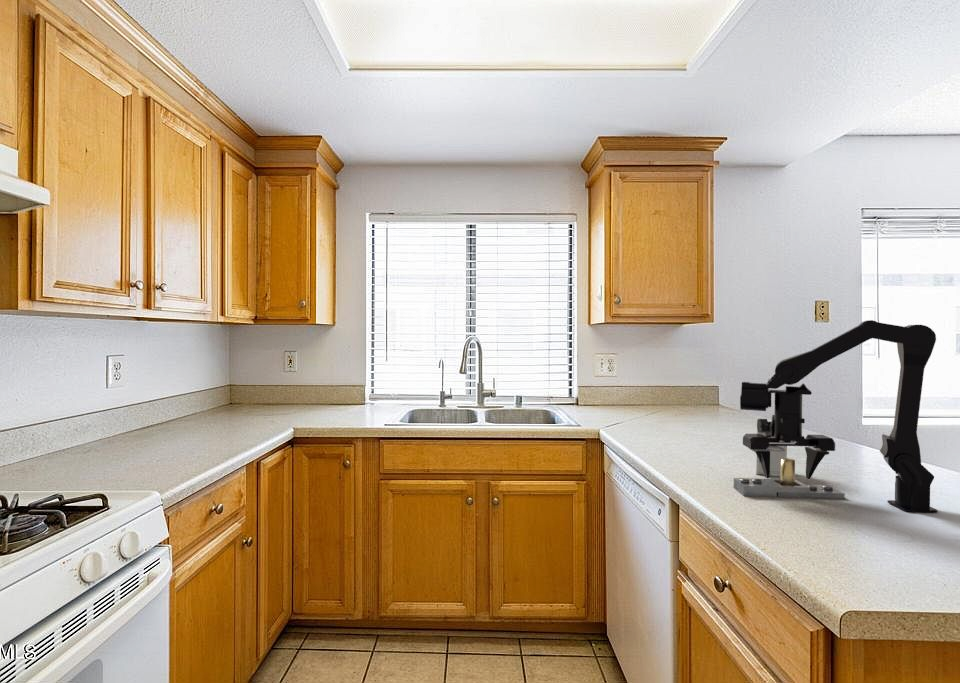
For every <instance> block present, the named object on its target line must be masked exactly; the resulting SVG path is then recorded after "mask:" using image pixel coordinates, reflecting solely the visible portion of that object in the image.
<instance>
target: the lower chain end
mask: <svg viewBox="0 0 960 683" xmlns="http://www.w3.org/2000/svg"><path fill="white" fill-rule="evenodd" d="M805 485H806V486H808V487H810V493H799V492H777V497H776V498H794V499H795V498H796V499H797V498H798V499H799V498H800V499H801V498H803V499H831V500H833V499H837V500H845V497H846V496H845V493H844V492H842V491H841V490H839V489H836V488H835V487H834V486H832V485H829V484H805Z"/></svg>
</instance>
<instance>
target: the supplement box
mask: <svg viewBox="0 0 960 683" xmlns="http://www.w3.org/2000/svg"><path fill="white" fill-rule="evenodd" d="M756 434H762V435H764V436H765V433H759V432H758V431H757V430H756ZM768 438H774V437H768ZM780 442H781V441H780ZM767 450H768V451H770V475H769V476H771V477H772V476H773V477H780V467H781V458H787V454H788V446H769V447H768V448H767ZM755 473H756V475H764V476H765V474H764V472H763V469H762V466H761V463H760V461H759V458H758V456H757V455H756V454H755Z"/></svg>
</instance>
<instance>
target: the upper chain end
mask: <svg viewBox="0 0 960 683" xmlns="http://www.w3.org/2000/svg"><path fill="white" fill-rule="evenodd" d="M806 485H807V484H806V483H803V482H801V481H799V480H797V479H796V478H795V486H782V485H780V478H753V477H752V478H748V477H747V478H746V477H745V478H744V477H733V489H735V490H736V491H737V492H738V493H740V494H741V495H742V496H744V497H754V498H755V497H759V498H761V497H763V498H765V497H766V498H778V497H777V492H799V493H810V487H808V486H806Z"/></svg>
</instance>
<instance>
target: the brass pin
mask: <svg viewBox="0 0 960 683" xmlns="http://www.w3.org/2000/svg"><path fill="white" fill-rule="evenodd" d="M795 469H796V460H795V459H794V458H781V467H780V476H779V479H780V485H782V486H795V479H796V470H795Z"/></svg>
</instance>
